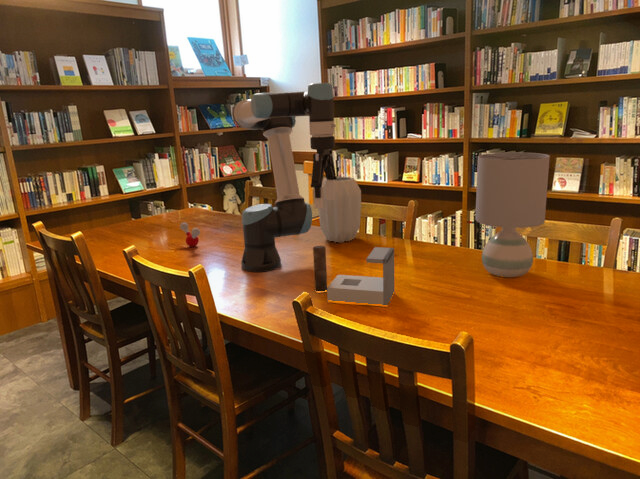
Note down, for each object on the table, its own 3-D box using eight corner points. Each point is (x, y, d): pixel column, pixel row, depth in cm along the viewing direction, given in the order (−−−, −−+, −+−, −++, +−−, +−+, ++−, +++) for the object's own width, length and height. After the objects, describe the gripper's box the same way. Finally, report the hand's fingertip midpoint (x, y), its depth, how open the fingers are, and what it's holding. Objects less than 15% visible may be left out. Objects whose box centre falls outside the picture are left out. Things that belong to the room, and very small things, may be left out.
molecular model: (177, 244, 228) (175, 223, 226) (189, 241, 232) (186, 220, 229) (195, 251, 215) (193, 229, 213) (208, 248, 219) (205, 226, 216)
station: (327, 302, 154) (325, 256, 150) (338, 288, 165) (336, 245, 161) (387, 307, 148) (387, 259, 144) (394, 293, 159) (394, 248, 155)
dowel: (313, 292, 162) (311, 248, 158) (317, 288, 166) (315, 245, 162) (325, 293, 161) (323, 249, 157) (328, 289, 165) (327, 245, 161)
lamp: (491, 260, 186) (497, 151, 175) (550, 272, 171) (560, 153, 160) (461, 275, 172) (465, 158, 161) (523, 290, 156) (532, 161, 146)
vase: (312, 237, 229) (309, 178, 222) (350, 231, 237) (348, 174, 229) (329, 247, 212) (327, 183, 205) (369, 241, 219) (368, 179, 212)
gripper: (323, 138, 140) (326, 212, 146) (343, 132, 163) (345, 196, 169) (297, 139, 142) (301, 211, 148) (321, 133, 165) (324, 196, 171)
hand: (325, 203), depth 158 cm, fingers open, 13 cm apart
